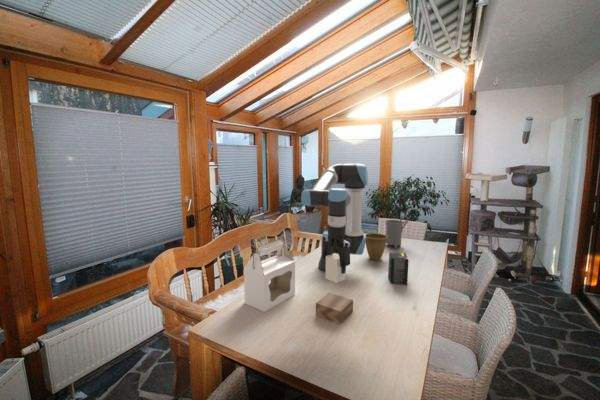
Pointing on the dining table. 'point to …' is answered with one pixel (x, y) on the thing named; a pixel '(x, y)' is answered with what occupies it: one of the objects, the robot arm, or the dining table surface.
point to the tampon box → (398, 268)
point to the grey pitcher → (394, 231)
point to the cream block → (333, 267)
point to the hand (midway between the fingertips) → (335, 277)
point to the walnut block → (334, 308)
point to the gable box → (269, 277)
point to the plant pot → (375, 245)
